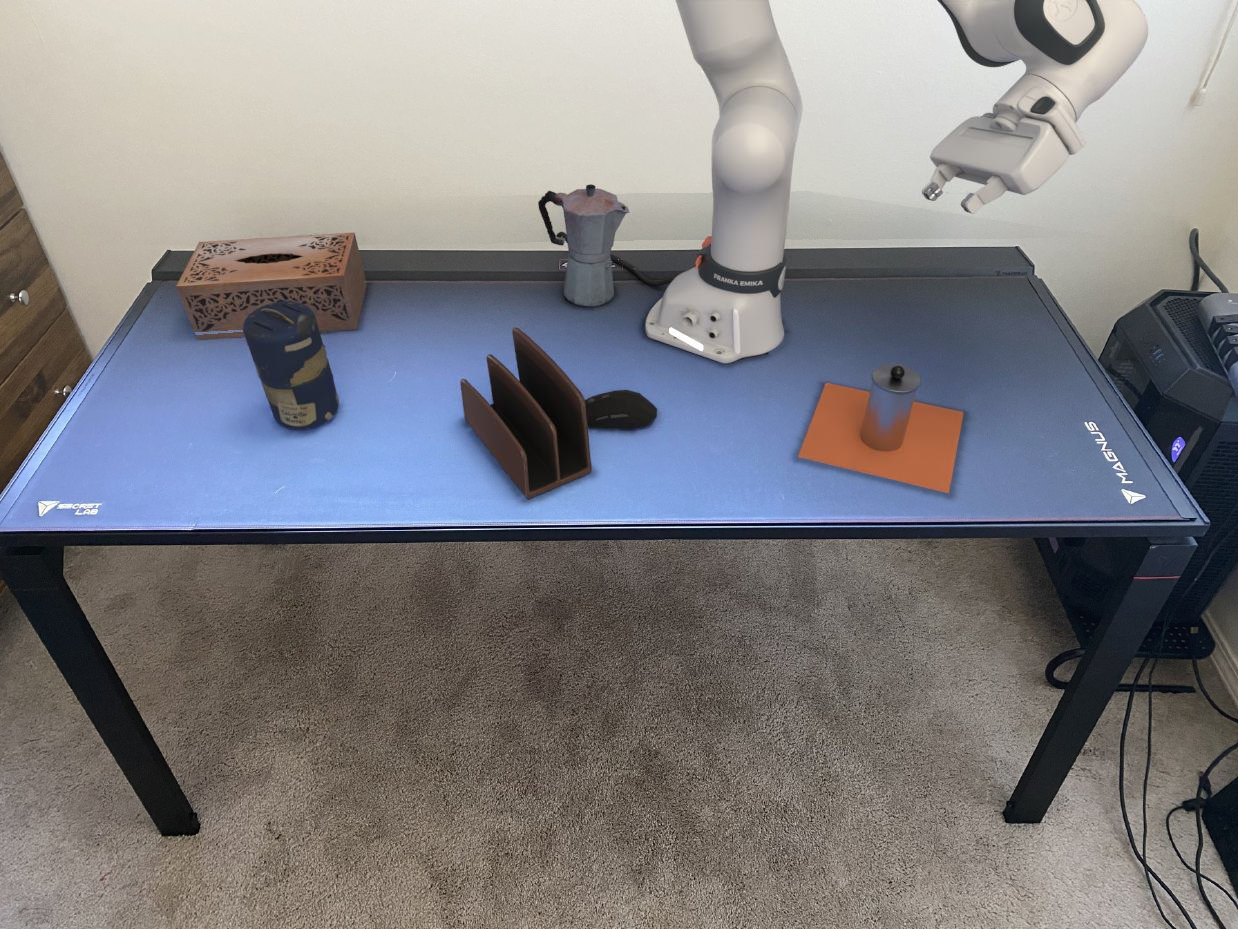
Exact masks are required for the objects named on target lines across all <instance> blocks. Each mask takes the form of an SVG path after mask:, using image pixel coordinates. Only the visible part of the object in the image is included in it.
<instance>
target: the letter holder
mask: <svg viewBox="0 0 1238 929" xmlns="http://www.w3.org/2000/svg"><path fill="white" fill-rule="evenodd" d="M511 331H512V332H511V333H512V341H513V347H514V353H515V359H516V367H517V373H518V378H517V377H516V376H515V374H514V373H513V372H512V371H511V370H510V369H509V368H508V367H506V366H505V365H504V364H503V363H502V362H501V361H500V360H499V359H498V358H497V357H495V356H494V355H493V354H492V353H489V354H487V355H486V365H487V372H488V377H489V384H490V392H491V398H492V403H491V404H490V403H489V401H487V399H486V398H485V397H484V396H483V395H482V394H481V393H480V392H479V391H478V390H477V389H476V388H475V387H474V386H473V385H472V384H471V383H470V382H469V381H468V380H467V379H466V378H461V379H460V382H459V385H460V393H461V400H462V408H463V415H464V416H463V417H464V420H465V422H466V423H467V424H468V425H469V426H470V428H471V429H472V431H473V432H474V433H475V434H476V435H477V436H478V438H479V439H480V441H481V442H482V443H483V444H484V446H485V447H486V449H487V450H488V451H489V452H490V454H491V455H492V456H493V457H494V459H495V460H496V461H497V463H498V464H499V465H500V466H501V469H503V470H504V472H505V473H506V474H507V475H508V476H509V478H510V479H511V480H512V482H513V484H515V485H516V487H517V488H518V489H519V491H521V493H522V494H523V495H524V497H525V498H526V499H527V500H529V499H531V498H534V497H536V496H539V495H541V494H544V493H546V492H548V491H550V490H554V489H555V488H558V487H561V486H562V485H565V484H567V483H570V482H572V481H574V480H576V479H580V478H582V477H584V476H586V475H589V474H590V473H592V470H593V469H592V468H593V467H592V466H593V465H592V456H591V447H590V434H589V427H588V425H587V417H586V406H585V400H586V399H585V397H584V395H583V393H582V392H581V390H580V389H579V388H578V386H577V385H575V383H574V381H573V380H572V379H571V378H570V377H569V376H568V375H567V373H566V372H565V371H564V370H563V369H562V368H561V367H560V366H559V365H558V364H557V362H556V361H555V360H554V359H553V358H552V357H551V356H550V355H549V354H548V353H547V352H546V351H545V350H544V349H543V348H542V347H541V346H540V345H539V344H538V343H537V342H535V341H534V340H533V339H532V338H531V337H530V336H529V335H528V334H527V333H525V332H524V331H523V330H521V329H520V328H519V327H513V328H512V330H511Z"/></svg>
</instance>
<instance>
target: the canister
mask: <svg viewBox="0 0 1238 929" xmlns="http://www.w3.org/2000/svg"><path fill="white" fill-rule="evenodd" d="M243 332H244V335H245V337H244V338H245V342H246V344H247V347H248V349H249V353H250V355H251V358H252V361H253V363H254V367H255V370H256V372H257V375H258V378H259V380H260V383H261V386H262V389H263V391H264V394H265V397H266V400H267V403H268V405H269V408H270V411H271V414H272V416H273V419H274V420H275V421H276V423H277V424H278V425H280V426H281V427H283V428H285V429H288V430H292V431H307V430H312V429H315V428H318V427H321V426H323V425H324V424H326V423H327V422H330V420H332V419H333V418H334V417H335V415H336V414H337V413H338V410H339V407H340V399H339V395H338V392H337V388H336V385H335V379H334V375H333V372H332V368H331V365H330V362H329V361H330V360H329V358H328V355H327V354H328V352H327V351H326V345H325V344H324V342H323V338H322V335H321V332H320V331H319V328H318V324H317V320H316V317H315V315H314V313H313V311H312V310H311V309H310V308H309V307H307V306H306V305H304V304H301V303H298V302H292V301H281V302H274V303H270V304H267V305H264V306H262V307H260V308H258V309H256V310H254V311H253V312H252V313H251V314H249V315H248V317H247V318H246V319H245V321H244V325H243Z"/></svg>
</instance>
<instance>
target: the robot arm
mask: <svg viewBox="0 0 1238 929" xmlns="http://www.w3.org/2000/svg"><path fill="white" fill-rule="evenodd" d="M936 1H937V2H938V3H939V4H940V5H941V7H942V8H943V9H944V10H945V12H946V13H947V15H948V16H949V18H950V20H951V22H952V23H953V26H954V29H955V33H956V35H957V38H958V40H959V42H960V45H961V47H962V49H963V51H964V53H965V54H966V55H967V57H968V58H970V59H971V60H972V62H975V63H976V64H977V65H980V66H982V67H985V68H986V67H987V68H1001V67H1005V66H1008V65H1010V64H1013V63H1015V62H1018V61H1022V62H1023V64H1024V65H1025V72H1024V73H1023V75H1022V76H1020V78H1019V79H1017V81H1016V82H1014V84H1013V85H1012V86H1011V87H1010V88H1009V89H1008V90H1007V91H1006V92H1005V93H1004V94H1002V96H1001V97H1000V98H999V99H998V100H997V101H996V102H995V103H994V104H993V106H992V112H985V113H983V114H982V115H980V116H979V115H975V116H971V117H968V118H967V119H966V120H964V121H962V123H960V124H959V125H958V126H956V127H955V128H954V129H953V130H951V132H950V133H948V134H947V135H946V136H945V137H944V138H943V139H942V140H941V141H940V142H939V143H938V144H936V146H934V147H933V149H932V150H931V153H930V155H929V159H930V161H931V162H932V163H933V165H934V167H936V168H935V170H934V171H933V173H932V176H931V178H930V181H929V182H928V183H927V184H926V185H925V186H924V187H923V188H922V190H921V194H922V196H923V197H924V198H925V199H926V200H928V201H932V202H935V201H937V199H938V198H939V197H941V196H942V195H943V193H944V191H943V188H944V187H945V185H946V183H947V182H948V183H949V182H951V181H952V180H953V179H954V178H957V179H960V180H965V181H969V182H972V183H977V184H981V185H984V186H982V187H980V188H979V189H978V190H976V191H975V192H974V193H973V192H969V193H968V194H967V195H966V196H965V198H963V199H962V200H961V201H960V206H961V208H962V209H963V211H964V212H966V213H969V214H971V215H975V214H976V213H977V212H979V210H980V209H982V208H983V207H984V206H985V205H988V204H990V203H992V202H993V201H995V200H997V199H999V198H1001V197H1002V196H1003V195H1004V194H1005V193H1006V192H1010V193H1015V194H1019V195H1021V196H1026V195H1028V194H1031V193H1033V192H1035V191H1037V190H1038V189H1040V188H1041V187H1042V186H1043V185H1045V183H1046V182H1048V181H1049V179H1051V178H1052V177H1053V176H1054V175H1055V174H1056V173H1057V172H1058V171H1059V170H1060V169H1061V168H1062V167H1063V166H1064V165H1065V164H1066V162H1067V161H1068V159H1069V157H1070V156H1073V155H1076V154H1078V153H1079V152H1080V151H1081V150H1082V149H1083V148H1084V147H1085V146H1086V143H1087V142H1086V139H1085V137H1084V136H1083V133H1082V132H1081V130H1080V129H1079V127H1078V125H1077V122H1078V121H1079V119H1080V118H1081V116H1082V114H1083V112H1084V111H1085V110H1086V109H1087V108H1088V107H1089V106H1090V105H1092V104H1094V103H1096V102H1097V101H1099V100H1100V99H1101V98H1103V97H1104V95H1105V94H1107V92H1109V91H1110V90H1111V88H1112V87H1114V85H1115V84H1117V82H1118V81H1119V80H1120V79H1121V78H1122V77H1123V76H1124V75H1125V74H1126V73H1127V71H1128V70H1129V68H1131V67H1132V65H1133V64H1134V63H1135V61H1136V60H1137V59H1138V57H1139V56H1140V55H1141V53H1142V51H1143V49H1144V48H1145V45H1146V43H1147V40H1148V37H1149V24H1148V21H1147V18H1146V15H1145V13H1144V11H1143V10H1142V8H1141V7H1140V5H1139V4H1138V3H1137V1H1135V0H936ZM675 3H676V7H677V10H678V13H679V16H680V19H681V23H682V25H683V29H684V32H685V35H686V38H687V41H688V45H689V48H690V51H691V54H692V57H693V59H694V61H695V62H696V64H697V65H698V66H699V67H700V69H702V71H703V73H704V75H705V77H706V80H707V81H708V83H709V85H710V87H711V89H712V90H713V94H714V96H715V98H716V101H717V104H718V114H719V115H718V119H717V122H716V124H715V127H714V129H713V132H712V135H711V189H712V208H713V209H712V222H711V235H708V236H706V238H704V241H703V242H702V243H701V248H700V250H699V251H698V253H697V258H696V259H695V266H694V267H692V268H689V269H688V270H686V271H683V272H681V273H679V274H677V273H676V274H675V275H674V276H675V277H667V278H662V279H659V280H654V279H650V278H648V277H647V276H645V275H644V274H643V273H642V272H641V270H640V269H638V268H637V267H636V266H635V265H633V264H631V263H630V262H628V261H626V260H624V259H622V258H621V257H619V256H616V255H615V254H612V253H611V254H610V258H611V261H613V262H615V263H617V264H619V265H621V266H623V267H625V269H627V270H629V271H631V272H632V273H633V274H634V275H635V276H637V278H638V279H640V280H641V282H643V283H644V284H647V285H649V286H653V287H660V286H664V285H668V286H667V287H666V289H665V291H664V293H663V295H662V297H661V298H660V299H658V301H657V302H655V304H654V305H653V306H652V308H651V309H650V310H649V312H648V314H647V316H646V319H645V325H644V331H645V335H646V336H647V337H648V338H649V339H652V340H655V341H657V342H660V343H663V344H666V345H670V346H672V347H675V348H678V349H680V350H683V351H687V352H690V353H693V354H695V355H698V356H700V357H704V358H706V359H709V360H712V361H715V362H718V363H720V364H731V363H733V362H736V361H738V360H740V359H742V358H748V357H755V356H760V355H764V354H766V353H769V352H770V351H772V350H774V349H775V348H777V347H778V346H779V345H780V344H781V343H782V342H783V340H784V338H785V329H784V324H783V319H782V318H783V317H782V309H781V308H782V307H781V306H782V305H781V304H782V303H781V292H782V290H783V289H784V284H785V277H786V270H787V266H786V261H787V255H786V252H785V246H786V236H787V228H788V222H789V221H788V220H789V215H790V214H789V213H790V198H791V189H792V188H791V186H792V178H793V177H792V176H793V165H794V158H795V150H796V145H797V142H798V141H797V140H798V136H799V130H800V125H801V122H802V117H803V101H802V96H801V93H800V89H799V87H798V84H797V81H796V78H795V76H794V72H793V69H792V66H791V63H790V62H789V58H788V55H787V54H786V50H785V47H784V44H783V42H782V40H781V38H780V36H779V33H778V30H777V27H776V23H775V19H774V16H773V11H772V9H771V5H770V1H769V0H675ZM555 235H556V238H557V239H560V238H562V239H563V240H564V242H565V243H566V244H567V245H568V241H567V234H566V232H565V231H559V232H558V233H557V234H555ZM618 259H619V260H618ZM633 268H636V269H637V270H638V271H637V270H635V269H633Z"/></svg>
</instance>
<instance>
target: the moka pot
mask: <svg viewBox="0 0 1238 929" xmlns="http://www.w3.org/2000/svg"><path fill="white" fill-rule="evenodd" d="M550 202H551V203H552V204H554V205H555V206H557V207H558V206H559V207H561V208H562V210H563V218H564V225H565V233H566V234H567V241H568V244H567V250H568V253H567V261H566V269H565V276H564V281H563V282H564V283H563V296H564V297H565V299H567V301H569V302H571V303H573V304H575V305H578V306H582V307H597V306H602V305H604V304H606V303H608V302H610V301H611V300H612V298H613V297H614V296H615V289H614V280H613V279H614V278H613V269H612V268H613V267H612V260H611V258H610V254H612V248H613V247H614V244H615V243H614V242H615V238H616V232H617V231H618V229H619V227H620V226H621V223H622V221H623V219H624V218H625V216H626V215H627V214H629V213H630V211H631V210H630V209H629V206H626V204H625V203H622V202H620V201H619V200H618V196H617V194H614V193H612V192H609V191H607V190H604V189H603V188H596V185H594V184H591V183H590V184H586V186H585V188H577V189H576V190H573V191H571V192H569V193H565V192H558V193H557V192H555V191H552V190H547V192H545V194H544V195H542V197H541V198H540V200H538V201H537V205H538V211H539V213H540V215H541V216H540V217H541V219H542V220H543V224H544V226H545V229H546V232H547V235H548V237H549V241H550V243H551V244H553V245H558V246H565V245H564V244H565V243H566V241H565V240H564V239H560V238H558V237H556V235H557V234H556V233H555V231H554V230H553V224H552V220H551V218H550V216H549V212H548V209H547V207H546V205H547V204H548V203H550Z"/></svg>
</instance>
